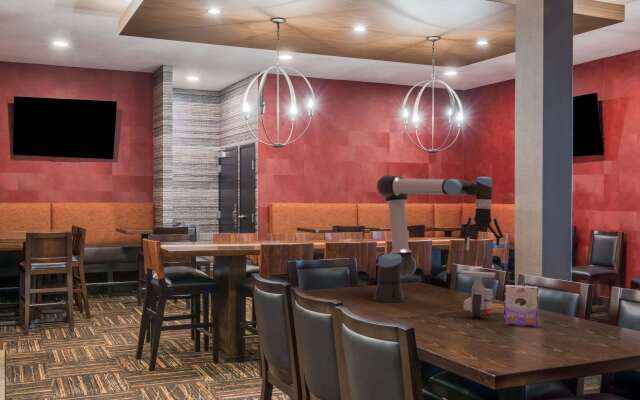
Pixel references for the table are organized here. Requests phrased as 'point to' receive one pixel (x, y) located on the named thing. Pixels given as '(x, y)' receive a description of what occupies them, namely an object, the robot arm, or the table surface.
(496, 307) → the pin socket
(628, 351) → the table surface
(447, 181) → the robot arm
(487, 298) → the ink box
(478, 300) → the white pedestal stand
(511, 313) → the candy box
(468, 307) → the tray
